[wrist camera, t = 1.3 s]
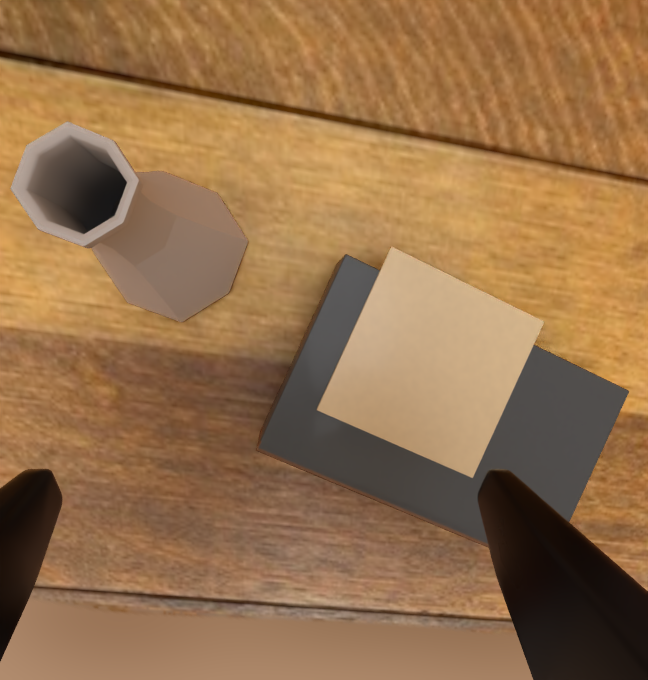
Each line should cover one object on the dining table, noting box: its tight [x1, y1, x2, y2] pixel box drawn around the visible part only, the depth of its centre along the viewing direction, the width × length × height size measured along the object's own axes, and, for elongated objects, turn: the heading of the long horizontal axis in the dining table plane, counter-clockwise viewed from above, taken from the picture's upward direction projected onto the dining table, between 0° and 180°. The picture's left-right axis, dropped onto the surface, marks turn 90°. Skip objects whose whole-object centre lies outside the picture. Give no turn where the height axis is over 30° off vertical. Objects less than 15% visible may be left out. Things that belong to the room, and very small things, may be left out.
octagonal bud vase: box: [11, 122, 248, 322], centre depth 16 cm, size 7×7×10 cm
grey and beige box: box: [256, 247, 629, 548], centre depth 21 cm, size 11×16×3 cm
